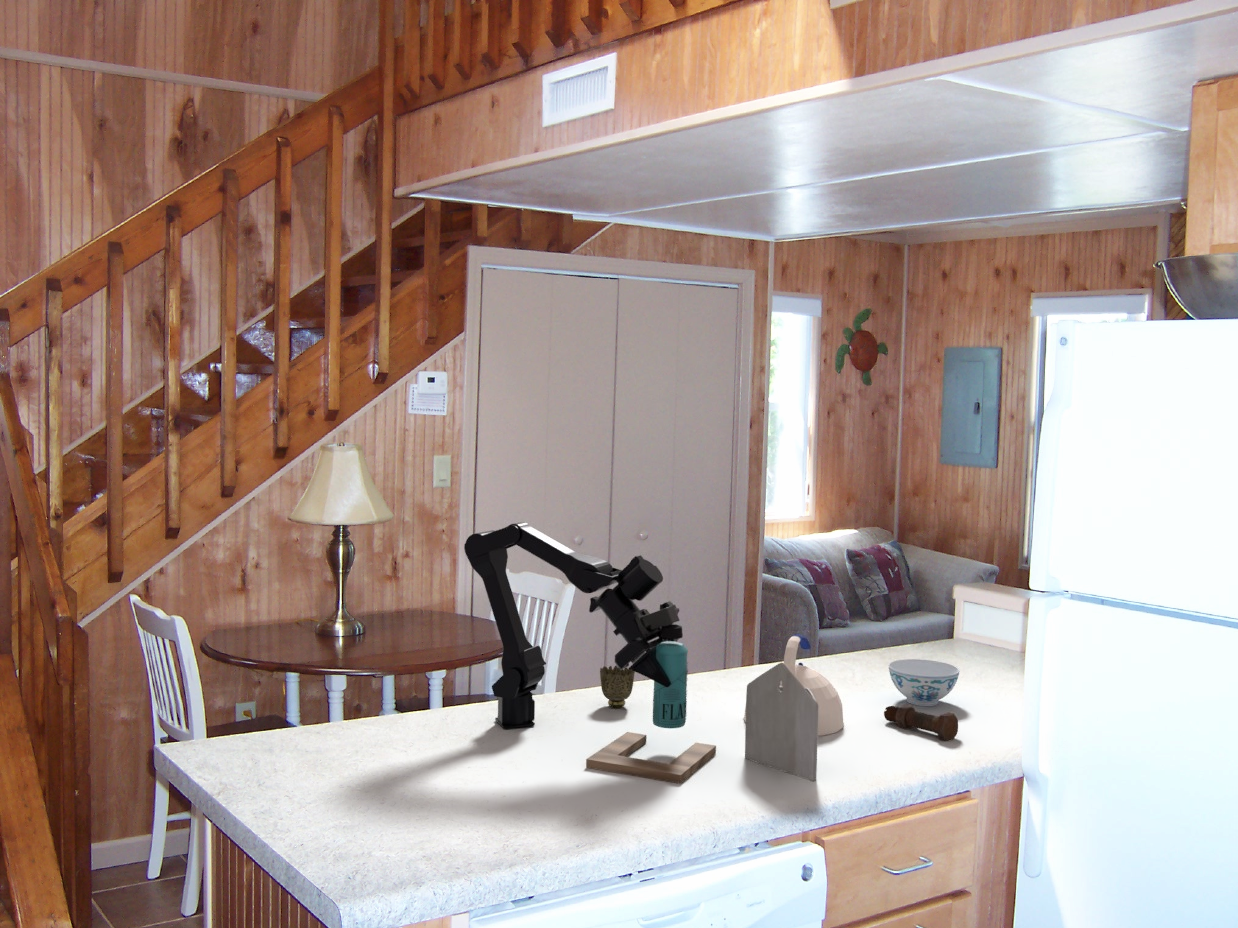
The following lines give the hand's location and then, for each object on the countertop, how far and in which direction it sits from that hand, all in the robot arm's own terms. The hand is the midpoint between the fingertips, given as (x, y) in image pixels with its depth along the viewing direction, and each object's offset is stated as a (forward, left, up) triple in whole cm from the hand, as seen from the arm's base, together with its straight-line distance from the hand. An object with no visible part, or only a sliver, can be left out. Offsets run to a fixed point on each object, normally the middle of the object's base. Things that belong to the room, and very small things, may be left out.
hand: (677, 681), depth 210 cm
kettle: (+31, +9, -14) cm, 35 cm away
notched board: (-6, -3, -13) cm, 15 cm away
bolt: (+52, -4, -14) cm, 54 cm away
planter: (+17, -14, -13) cm, 26 cm away
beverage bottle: (-1, +1, -10) cm, 10 cm away
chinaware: (+66, +13, -13) cm, 69 cm away
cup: (+1, +31, -13) cm, 34 cm away
